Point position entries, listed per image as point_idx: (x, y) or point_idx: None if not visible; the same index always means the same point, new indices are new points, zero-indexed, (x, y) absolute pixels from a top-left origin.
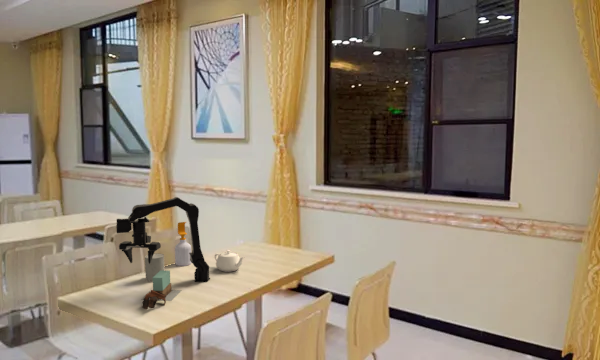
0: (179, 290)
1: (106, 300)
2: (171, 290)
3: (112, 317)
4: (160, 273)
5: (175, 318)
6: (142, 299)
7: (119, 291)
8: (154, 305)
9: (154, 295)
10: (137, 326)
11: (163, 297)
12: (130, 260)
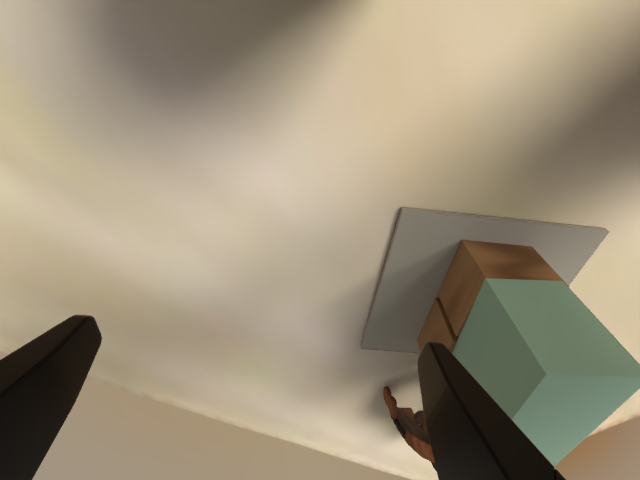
0: (590, 234)
1: (181, 340)
2: (534, 250)
3: (302, 443)
4: (534, 429)
5: None
6: (367, 346)
7: (161, 227)
8: None
9: None
10: (400, 473)
11: None
12: (71, 404)
